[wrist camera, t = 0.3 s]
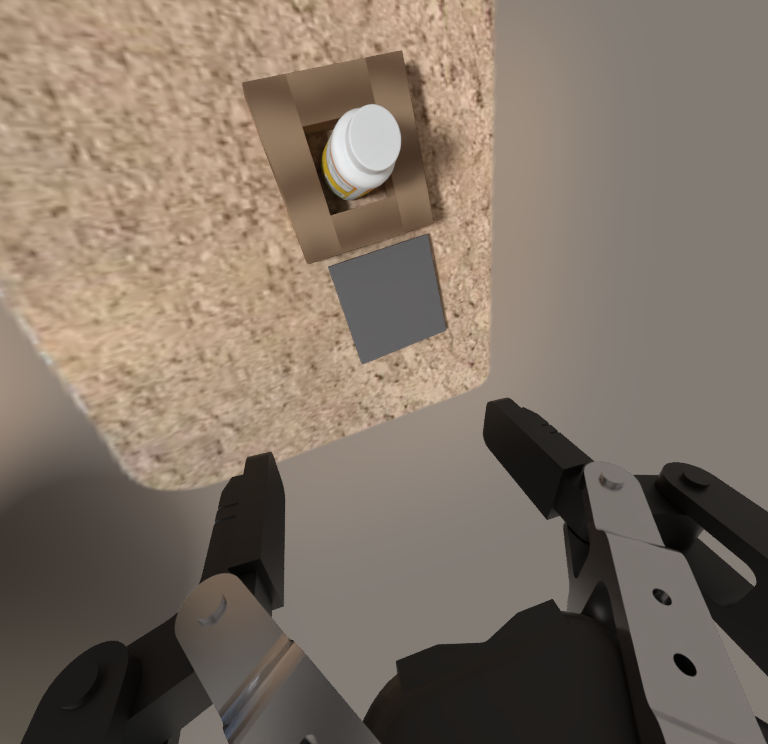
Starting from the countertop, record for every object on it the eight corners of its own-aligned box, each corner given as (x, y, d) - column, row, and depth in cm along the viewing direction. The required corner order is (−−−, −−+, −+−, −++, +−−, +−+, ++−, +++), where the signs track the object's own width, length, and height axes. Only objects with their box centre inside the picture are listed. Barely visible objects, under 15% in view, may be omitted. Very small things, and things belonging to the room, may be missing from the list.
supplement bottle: (373, 142, 30) (413, 99, 22) (371, 203, 32) (407, 185, 23) (318, 133, 28) (338, 81, 20) (320, 198, 30) (339, 176, 22)
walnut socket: (244, 97, 26) (242, 82, 24) (392, 66, 28) (402, 50, 26) (306, 263, 32) (309, 263, 30) (423, 225, 35) (433, 223, 32)
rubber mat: (327, 266, 33) (328, 267, 32) (425, 234, 35) (427, 234, 34) (361, 362, 38) (362, 364, 37) (443, 329, 40) (446, 330, 40)
